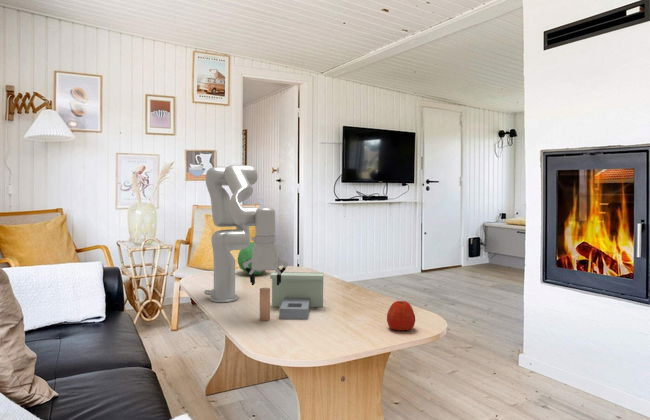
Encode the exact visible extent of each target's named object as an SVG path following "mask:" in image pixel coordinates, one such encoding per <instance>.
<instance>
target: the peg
mask: <svg viewBox="0 0 650 420" xmlns="http://www.w3.org/2000/svg"><path fill="white" fill-rule="evenodd" d="M259 321H262V322H268V321H271V288H270V287H261V288H259Z"/></svg>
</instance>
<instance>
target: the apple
mask: <svg viewBox="0 0 650 420" xmlns="http://www.w3.org/2000/svg"><path fill="white" fill-rule="evenodd" d="M386 322H387V325H388V327H389V329H391V330H394V331H399V332H400V331H403V332H404V331H405V330H406V331H410V330H412V329H414V326H415V324H416V315H415V311H414V309H413V307H412V305H411V304H410V303H409V302H408V301H406V300H397V301H394V302H393V303H392V304H391V305H390V307H389V309H388V311H387V314H386Z"/></svg>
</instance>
